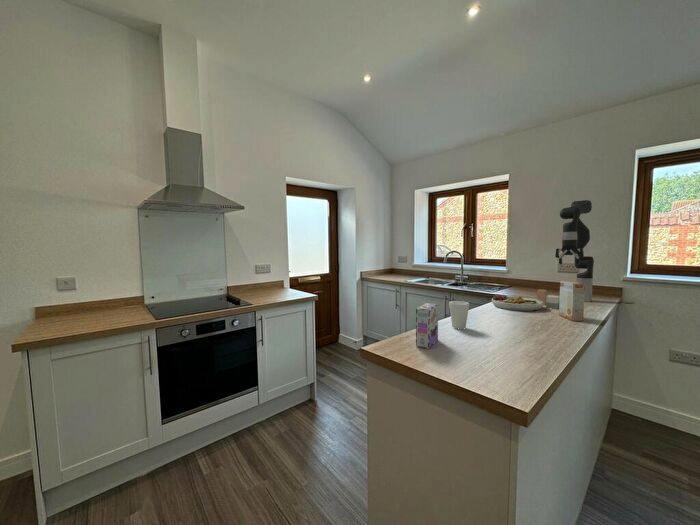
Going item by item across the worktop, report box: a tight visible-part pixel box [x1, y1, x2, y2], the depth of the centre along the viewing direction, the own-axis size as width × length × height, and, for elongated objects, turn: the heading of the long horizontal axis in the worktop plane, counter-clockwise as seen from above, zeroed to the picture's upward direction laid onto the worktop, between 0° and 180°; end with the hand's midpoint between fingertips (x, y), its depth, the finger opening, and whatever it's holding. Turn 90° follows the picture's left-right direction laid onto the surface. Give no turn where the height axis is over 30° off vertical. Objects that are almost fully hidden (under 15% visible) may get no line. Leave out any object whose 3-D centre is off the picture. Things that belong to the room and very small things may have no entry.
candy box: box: [415, 302, 439, 350], centre depth 124 cm, size 14×6×16 cm, turn 148°
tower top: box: [546, 294, 560, 303], centre depth 191 cm, size 6×6×4 cm
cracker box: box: [558, 280, 585, 322], centre depth 163 cm, size 14×6×21 cm, turn 168°
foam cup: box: [448, 300, 470, 330], centre depth 147 cm, size 10×9×13 cm
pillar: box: [536, 289, 548, 306], centre depth 203 cm, size 4×4×10 cm
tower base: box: [545, 302, 560, 310], centre depth 191 cm, size 6×6×4 cm
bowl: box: [491, 293, 544, 312], centre depth 195 cm, size 30×30×8 cm
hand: (569, 264), depth 183 cm, fingers open, 8 cm apart
